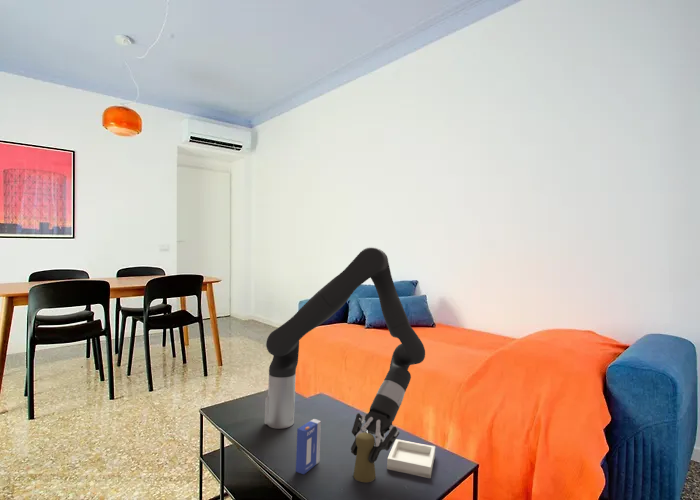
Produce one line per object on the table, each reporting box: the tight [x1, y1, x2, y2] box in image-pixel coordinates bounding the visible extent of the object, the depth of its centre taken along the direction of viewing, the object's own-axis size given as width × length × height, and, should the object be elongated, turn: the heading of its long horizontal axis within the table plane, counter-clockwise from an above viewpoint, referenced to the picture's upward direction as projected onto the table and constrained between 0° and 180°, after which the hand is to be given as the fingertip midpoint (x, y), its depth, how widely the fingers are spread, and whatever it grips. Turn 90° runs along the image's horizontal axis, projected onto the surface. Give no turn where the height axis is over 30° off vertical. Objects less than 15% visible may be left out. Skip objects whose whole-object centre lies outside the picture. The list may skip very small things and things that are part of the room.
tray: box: [386, 438, 436, 479], centre depth 110 cm, size 12×12×3 cm
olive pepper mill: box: [352, 433, 376, 483], centre depth 103 cm, size 6×6×11 cm
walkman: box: [295, 418, 322, 475], centre depth 106 cm, size 8×3×12 cm, turn 150°
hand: (361, 457), depth 102 cm, fingers closed on olive pepper mill, 5 cm apart
